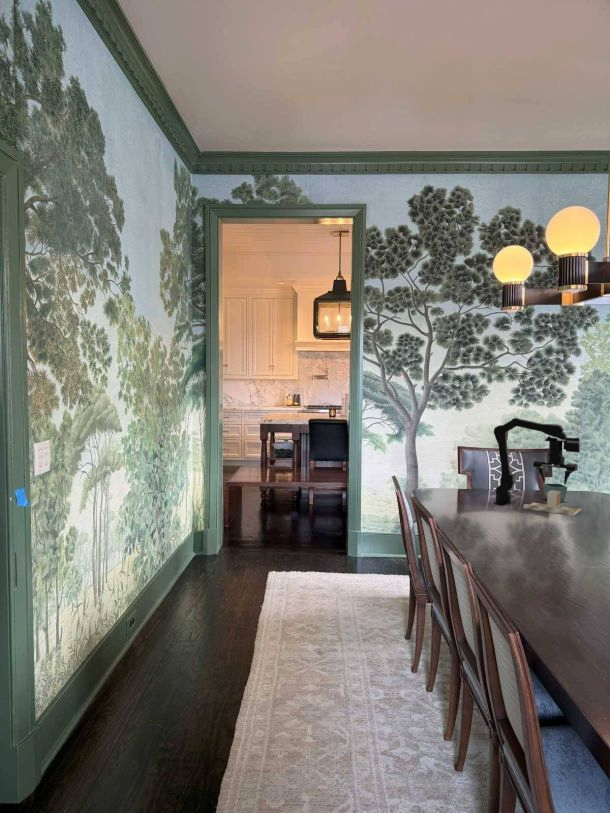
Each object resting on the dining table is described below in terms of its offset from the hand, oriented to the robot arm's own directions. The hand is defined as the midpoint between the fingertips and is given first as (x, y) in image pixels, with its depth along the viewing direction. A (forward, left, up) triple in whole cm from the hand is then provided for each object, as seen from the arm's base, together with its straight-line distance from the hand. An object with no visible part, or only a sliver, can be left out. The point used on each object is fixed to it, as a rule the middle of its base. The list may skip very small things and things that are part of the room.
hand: (554, 483), depth 261 cm
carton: (0, 0, -12) cm, 12 cm away
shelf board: (0, -2, -13) cm, 13 cm away
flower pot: (-4, +18, -13) cm, 22 cm away
